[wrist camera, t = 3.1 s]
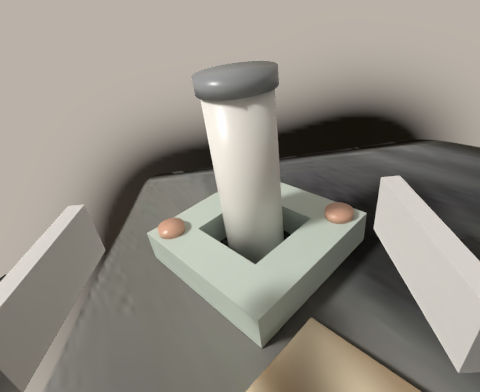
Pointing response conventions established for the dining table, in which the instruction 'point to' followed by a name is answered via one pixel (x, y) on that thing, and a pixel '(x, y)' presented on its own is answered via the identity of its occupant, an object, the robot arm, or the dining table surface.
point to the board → (326, 367)
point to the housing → (267, 269)
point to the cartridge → (244, 152)
